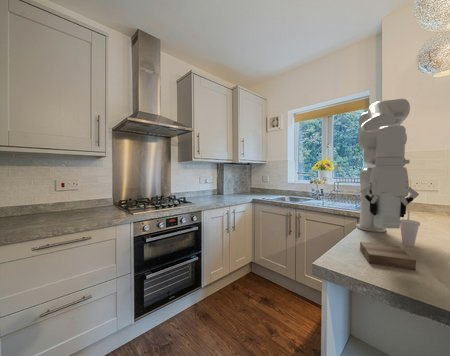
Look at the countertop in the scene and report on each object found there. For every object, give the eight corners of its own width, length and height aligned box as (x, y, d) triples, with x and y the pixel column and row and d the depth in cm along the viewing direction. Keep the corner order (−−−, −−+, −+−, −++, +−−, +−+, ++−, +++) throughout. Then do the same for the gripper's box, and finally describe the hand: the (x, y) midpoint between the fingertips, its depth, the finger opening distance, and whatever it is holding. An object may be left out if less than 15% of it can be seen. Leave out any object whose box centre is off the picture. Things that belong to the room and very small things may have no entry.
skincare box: (390, 225, 72) (391, 191, 71) (400, 229, 67) (402, 192, 67) (372, 225, 72) (374, 191, 71) (382, 229, 67) (383, 192, 67)
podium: (359, 249, 78) (360, 241, 78) (398, 254, 74) (399, 246, 74) (369, 263, 67) (369, 254, 67) (415, 270, 63) (416, 260, 62)
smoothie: (408, 241, 87) (410, 209, 86) (423, 247, 81) (425, 212, 80) (393, 241, 87) (395, 209, 86) (407, 247, 81) (409, 212, 80)
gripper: (416, 163, 69) (413, 215, 70) (356, 163, 75) (354, 211, 76) (428, 162, 62) (425, 220, 63) (361, 162, 68) (359, 215, 69)
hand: (386, 215), depth 69 cm, fingers closed on skincare box, 7 cm apart
